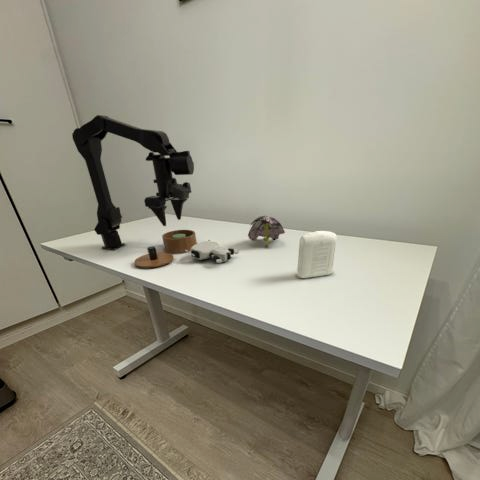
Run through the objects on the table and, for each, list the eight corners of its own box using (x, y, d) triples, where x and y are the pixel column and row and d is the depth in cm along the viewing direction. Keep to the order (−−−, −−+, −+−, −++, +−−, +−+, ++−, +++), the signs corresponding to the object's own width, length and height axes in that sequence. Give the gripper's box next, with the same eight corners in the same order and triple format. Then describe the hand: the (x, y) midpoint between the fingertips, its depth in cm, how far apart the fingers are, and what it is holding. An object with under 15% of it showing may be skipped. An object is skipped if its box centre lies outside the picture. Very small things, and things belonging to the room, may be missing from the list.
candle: (171, 248, 105) (169, 237, 103) (179, 244, 109) (177, 233, 107) (182, 249, 103) (180, 237, 101) (189, 245, 107) (188, 234, 105)
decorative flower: (288, 212, 105) (274, 208, 92) (292, 243, 107) (279, 243, 94) (254, 221, 112) (237, 219, 99) (258, 250, 114) (242, 251, 101)
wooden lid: (126, 266, 93) (122, 252, 90) (151, 253, 103) (148, 240, 100) (158, 271, 88) (154, 256, 85) (181, 257, 98) (178, 243, 95)
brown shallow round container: (158, 252, 104) (155, 237, 101) (177, 242, 113) (174, 228, 110) (185, 255, 100) (183, 240, 97) (202, 244, 109) (200, 230, 106)
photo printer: (327, 269, 82) (332, 227, 76) (334, 274, 79) (340, 231, 72) (294, 274, 81) (297, 231, 74) (300, 280, 77) (304, 236, 71)
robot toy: (241, 259, 96) (208, 249, 103) (241, 246, 93) (207, 237, 100) (218, 271, 87) (184, 260, 94) (218, 258, 85) (183, 247, 92)
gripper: (166, 179, 83) (175, 231, 92) (198, 172, 98) (203, 217, 106) (138, 179, 87) (149, 228, 96) (172, 172, 102) (179, 216, 110)
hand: (172, 222), depth 102 cm, fingers open, 9 cm apart
